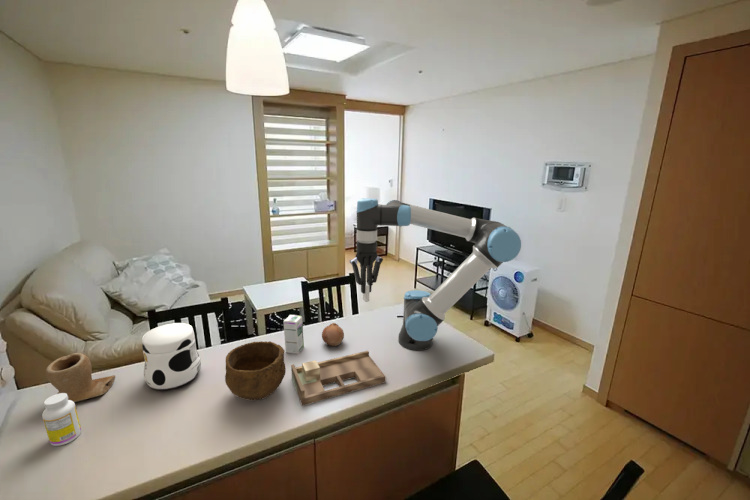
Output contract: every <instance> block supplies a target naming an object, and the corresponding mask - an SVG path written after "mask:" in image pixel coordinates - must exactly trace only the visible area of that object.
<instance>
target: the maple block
mask: <svg viewBox="0 0 750 500" xmlns="http://www.w3.org/2000/svg"><path fill="white" fill-rule="evenodd" d="M317 362H318V361H317V360H310V361H306V362H302V363H301V366H302V372H303V375H304V378H305V380H306V381H309V380H313V379H317V378H320V367H319V365H318V363H317Z"/></svg>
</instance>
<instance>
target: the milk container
mask: <svg viewBox="0 0 750 500" xmlns="http://www.w3.org/2000/svg"><path fill="white" fill-rule="evenodd" d="M141 338H142V339H141V344H142V345H141V347H142V353H143V358H144V366H143V378H144V380H145V383H146V384H147V386H149V387H150V388H151V389H155V390H162V391H163V390H165V391H166V390H172V389H176V388H179V387H181V386H184V385H186V384H188V383H189V382H191V381H192V380H194V379H195V378H196V377H197V376H198V375H199V372H200V370H201V367H202V366H201V365H202V361H201V356H200V353H199V352H198V349H197V344H196V336H195V332H194V328H193V326H192V325H190V324H189V323H184V322H174V323H166V324H162V325H159V326H156V327H155V328H152V329H150V330H148V331H147V332H145V333H144V335H143V336H142V337H141Z"/></svg>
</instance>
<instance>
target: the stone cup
mask: <svg viewBox="0 0 750 500" xmlns="http://www.w3.org/2000/svg"><path fill="white" fill-rule="evenodd" d="M92 370H93V369H92V363H91V360H90V358H89V357H88V356H87V355H86V354H85V353H82V352H74V353H73V352H72V353H71V354H68V355H66V356H64V355H63V356H62V357H58V358H57V359H55V360H54V361H52V362H50V363H49V365H48V366H46V369H45V373H44V374H45V377H46V379H47V380H48V382H49V383H50V384H51V385H52V386H53V387H54V388H55V389H56V390H58V392H57V393H56V394H59V393H66V394H67V395H68V400H71V401H73V402H74V403H76V402H81V401H85V400H88V399H91V398H96V397H100V396H102V395H104V394H106V393H107V392H108V391H109V390H110V388H112V386H113V383H114V382H115V380H116V375H115V374H114V375H109V376H104V377H99V378H95V379H93V377H92V374H93V373H92Z"/></svg>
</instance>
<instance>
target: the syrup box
mask: <svg viewBox="0 0 750 500" xmlns="http://www.w3.org/2000/svg"><path fill="white" fill-rule="evenodd" d="M303 323H304V322H303V316H302V315H297V314H289V315H288V317H286V318H285V319H284V320H283V332H284V333H283V334H284V335H283V336H284V347H285V349H284V350H285V353H288V354H294V355H299V354H300V353H301V352H302V350H303V349H304V348H305V344H304V342H305V341H304V339H305V338H304V327H303V326H304V324H303Z"/></svg>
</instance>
